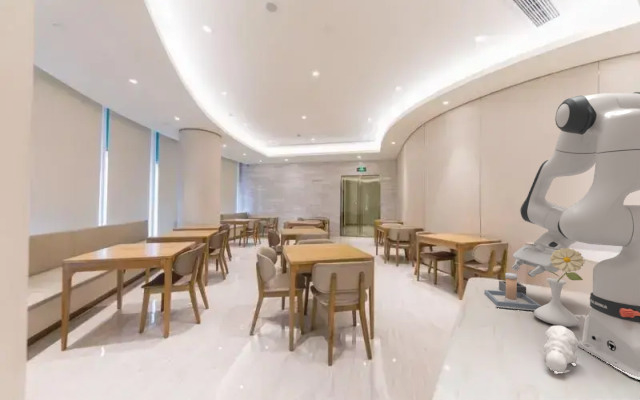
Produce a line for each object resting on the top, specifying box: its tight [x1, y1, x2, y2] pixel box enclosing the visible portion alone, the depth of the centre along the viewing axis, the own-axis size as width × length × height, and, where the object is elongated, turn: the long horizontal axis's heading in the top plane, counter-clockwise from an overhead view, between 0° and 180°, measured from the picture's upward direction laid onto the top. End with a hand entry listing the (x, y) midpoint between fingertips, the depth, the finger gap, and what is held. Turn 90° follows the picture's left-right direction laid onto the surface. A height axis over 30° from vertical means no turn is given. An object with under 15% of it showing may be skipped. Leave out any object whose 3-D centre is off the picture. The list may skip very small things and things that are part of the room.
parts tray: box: [484, 289, 542, 313], centre depth 108 cm, size 14×14×2 cm
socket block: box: [498, 280, 527, 295], centre depth 118 cm, size 7×7×4 cm
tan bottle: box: [504, 272, 518, 303], centre depth 108 cm, size 4×4×11 cm
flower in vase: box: [533, 247, 586, 328], centre depth 91 cm, size 13×11×25 cm
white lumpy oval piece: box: [542, 325, 579, 373], centre depth 67 cm, size 6×8×12 cm
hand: (521, 272), depth 108 cm, fingers open, 8 cm apart
